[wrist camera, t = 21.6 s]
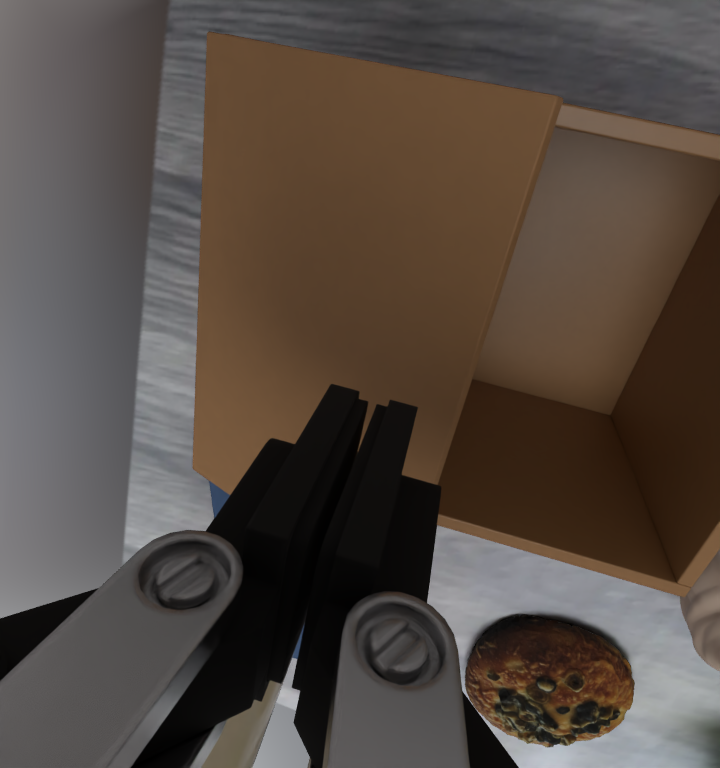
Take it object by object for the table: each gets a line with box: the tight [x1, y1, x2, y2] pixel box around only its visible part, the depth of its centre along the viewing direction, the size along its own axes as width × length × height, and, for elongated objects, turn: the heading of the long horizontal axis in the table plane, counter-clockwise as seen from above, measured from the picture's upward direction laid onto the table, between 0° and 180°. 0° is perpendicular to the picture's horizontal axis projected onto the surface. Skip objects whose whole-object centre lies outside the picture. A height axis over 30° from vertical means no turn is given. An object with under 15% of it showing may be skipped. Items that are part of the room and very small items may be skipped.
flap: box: [193, 32, 563, 495], centre depth 14 cm, size 8×13×1 cm, turn 169°
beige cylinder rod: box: [201, 623, 305, 768], centre depth 25 cm, size 6×6×19 cm
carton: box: [225, 34, 720, 597], centre depth 20 cm, size 17×13×12 cm
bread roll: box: [465, 615, 635, 747], centre depth 35 cm, size 11×11×5 cm
